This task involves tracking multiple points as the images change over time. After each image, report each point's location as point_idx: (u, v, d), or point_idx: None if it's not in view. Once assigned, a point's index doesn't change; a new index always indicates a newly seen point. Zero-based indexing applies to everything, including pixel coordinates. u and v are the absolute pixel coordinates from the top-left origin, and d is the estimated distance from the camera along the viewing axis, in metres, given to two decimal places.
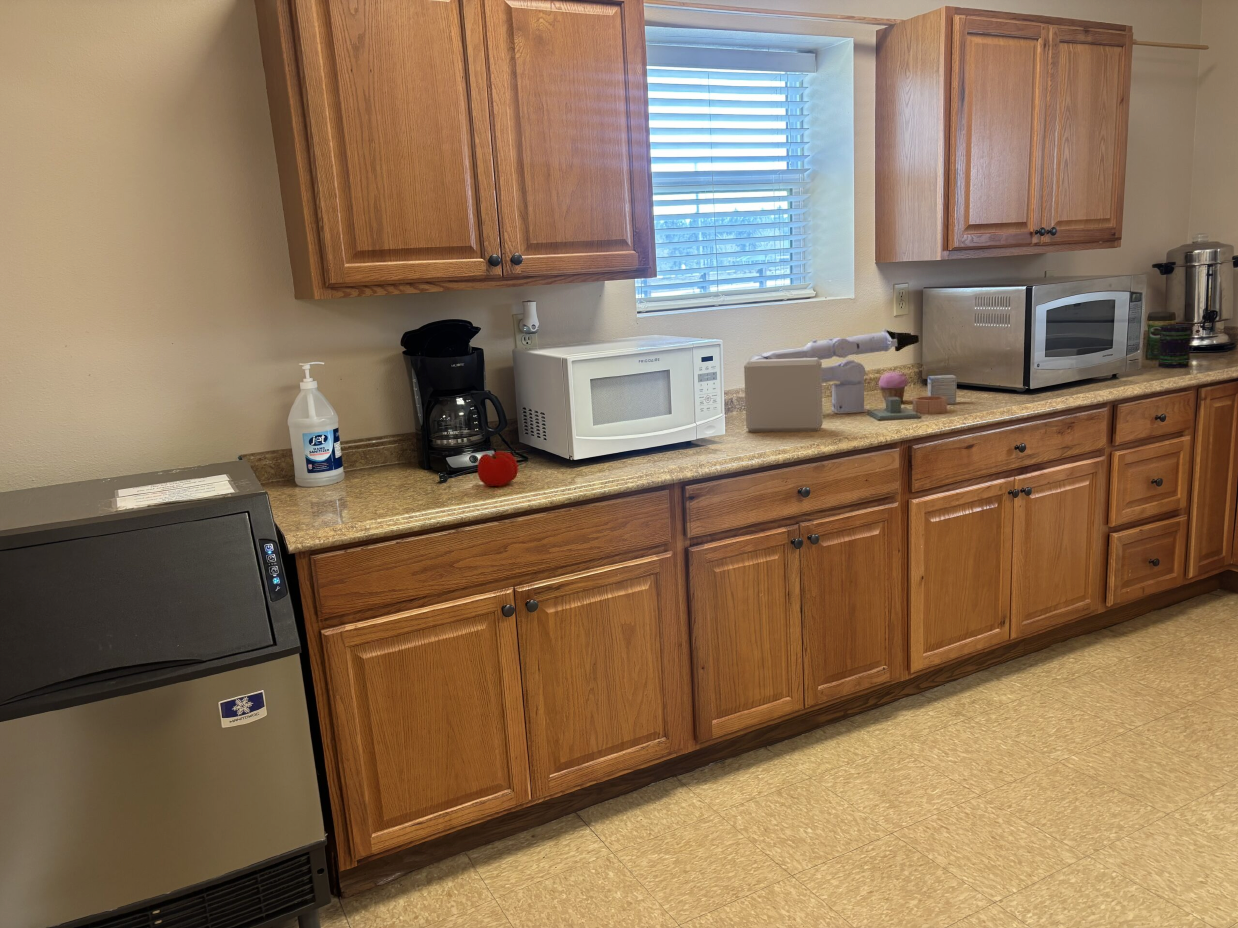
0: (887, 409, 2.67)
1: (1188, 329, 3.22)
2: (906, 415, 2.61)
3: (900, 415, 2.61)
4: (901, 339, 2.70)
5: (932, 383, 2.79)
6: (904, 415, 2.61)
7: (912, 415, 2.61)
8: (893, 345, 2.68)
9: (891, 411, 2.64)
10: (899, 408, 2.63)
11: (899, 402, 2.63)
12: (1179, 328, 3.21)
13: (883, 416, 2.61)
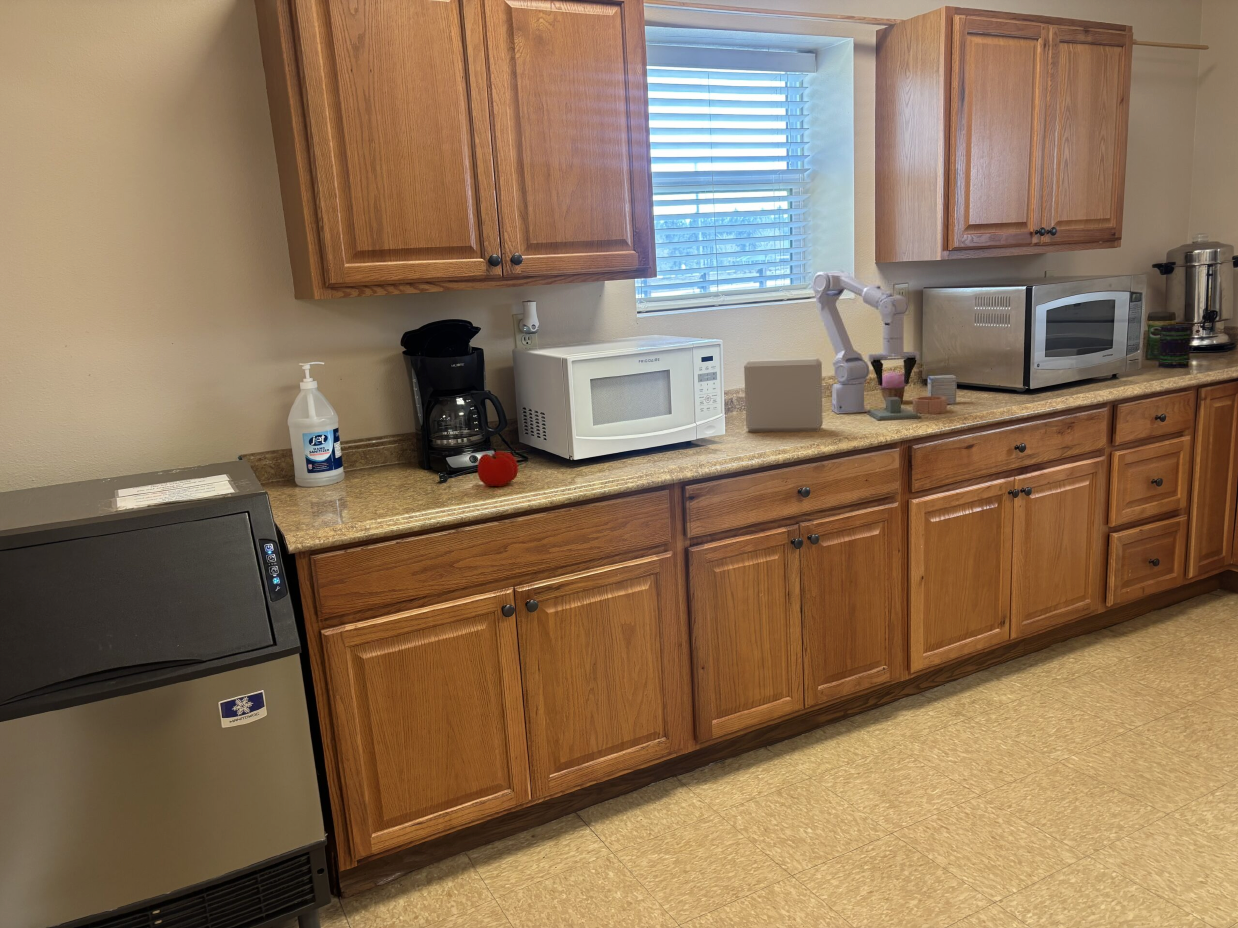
0: (887, 409, 2.67)
1: (1188, 329, 3.22)
2: (906, 415, 2.61)
3: (900, 415, 2.61)
4: None
5: (932, 383, 2.79)
6: (904, 415, 2.61)
7: (912, 415, 2.61)
8: None
9: (891, 411, 2.64)
10: (899, 408, 2.63)
11: (899, 402, 2.63)
12: (1179, 328, 3.21)
13: (883, 416, 2.61)
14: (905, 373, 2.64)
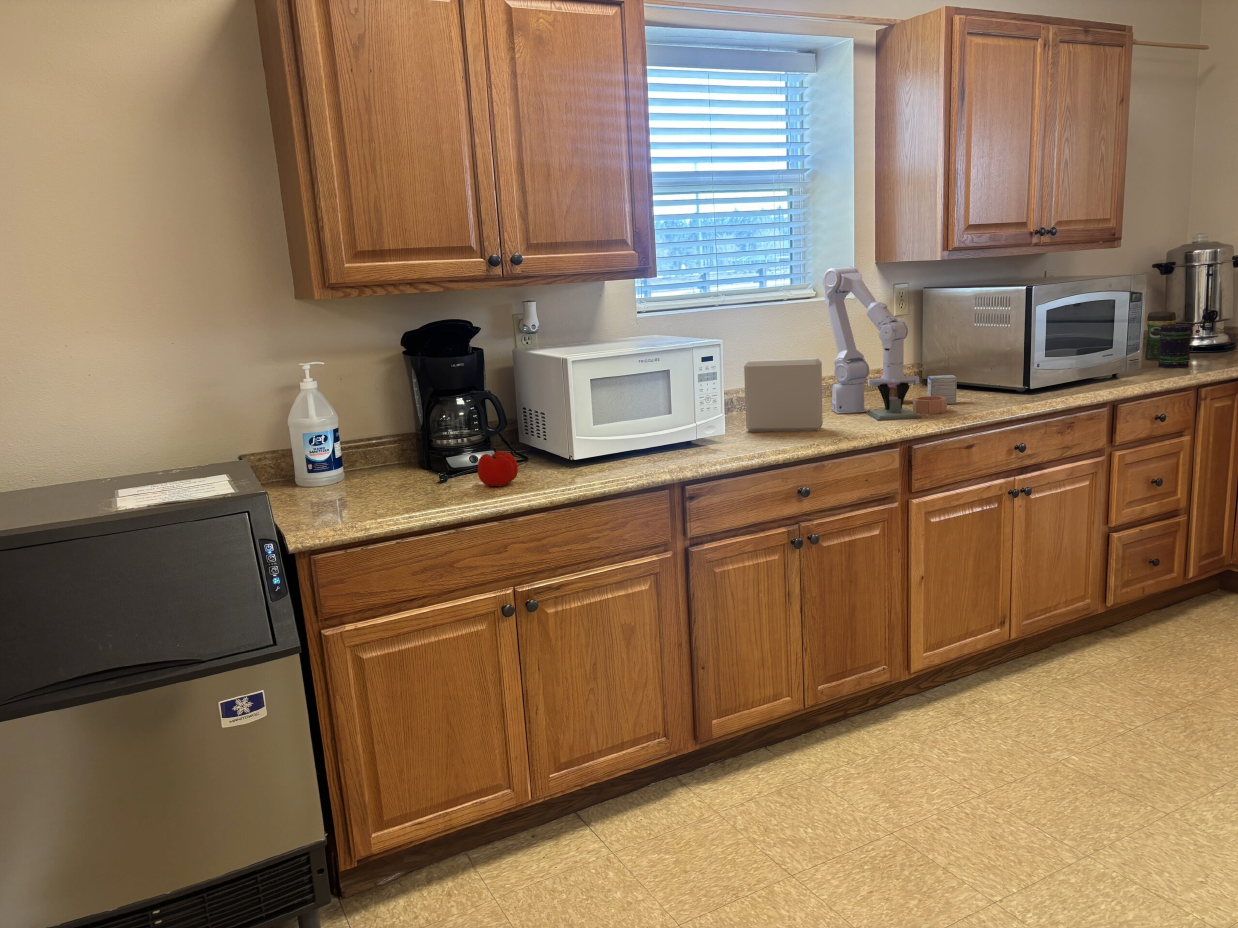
0: None
1: (1188, 329, 3.22)
2: (906, 415, 2.61)
3: (900, 415, 2.61)
4: None
5: (932, 383, 2.79)
6: (904, 415, 2.61)
7: (912, 415, 2.61)
8: (868, 382, 2.65)
9: (891, 411, 2.64)
10: (899, 408, 2.63)
11: (899, 402, 2.63)
12: (1179, 328, 3.21)
13: (883, 416, 2.61)
14: None
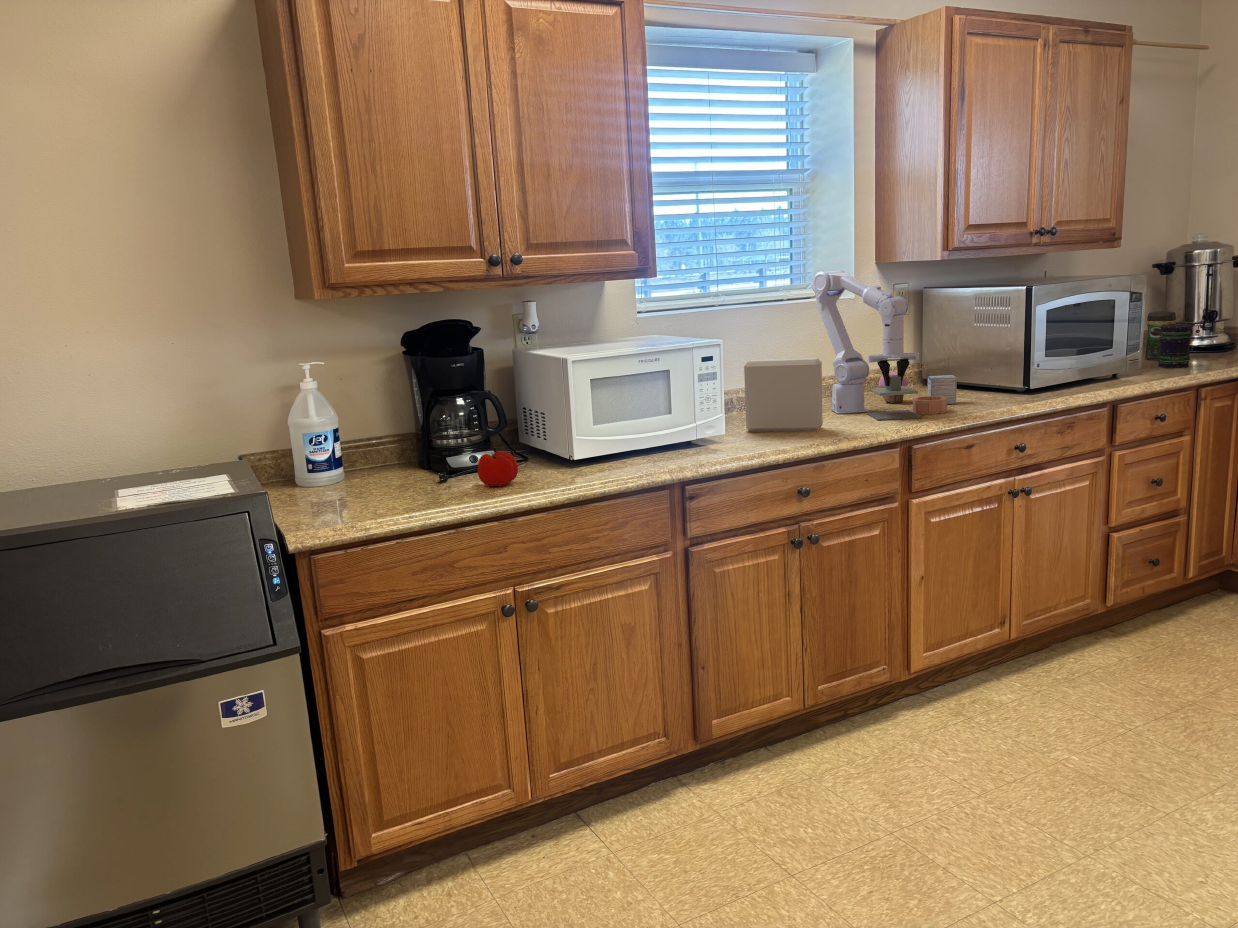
0: (887, 387, 2.65)
1: (1188, 329, 3.22)
2: (906, 392, 2.59)
3: (900, 392, 2.59)
4: None
5: (932, 383, 2.79)
6: (904, 392, 2.59)
7: (912, 392, 2.59)
8: None
9: (891, 389, 2.62)
10: (899, 386, 2.62)
11: (899, 379, 2.62)
12: (1179, 328, 3.21)
13: (883, 393, 2.59)
14: (898, 375, 2.64)
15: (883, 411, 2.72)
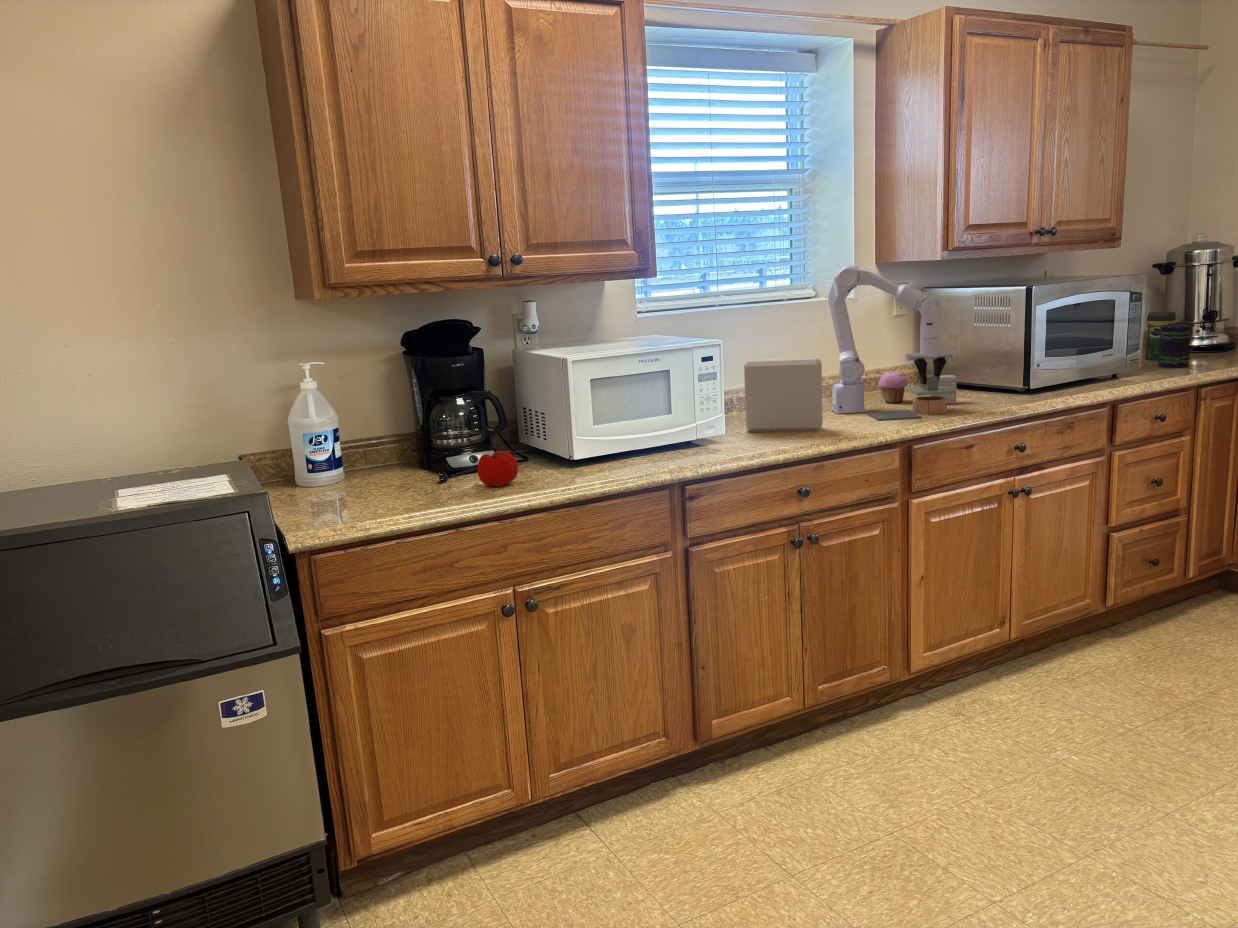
0: (924, 387, 2.69)
1: (1188, 329, 3.22)
2: (943, 392, 2.63)
3: (937, 392, 2.63)
4: None
5: None
6: (941, 392, 2.63)
7: (949, 392, 2.63)
8: (905, 356, 2.67)
9: (928, 389, 2.66)
10: (936, 386, 2.66)
11: (936, 380, 2.65)
12: (1179, 328, 3.21)
13: (921, 393, 2.63)
14: (935, 373, 2.68)
15: (883, 411, 2.72)
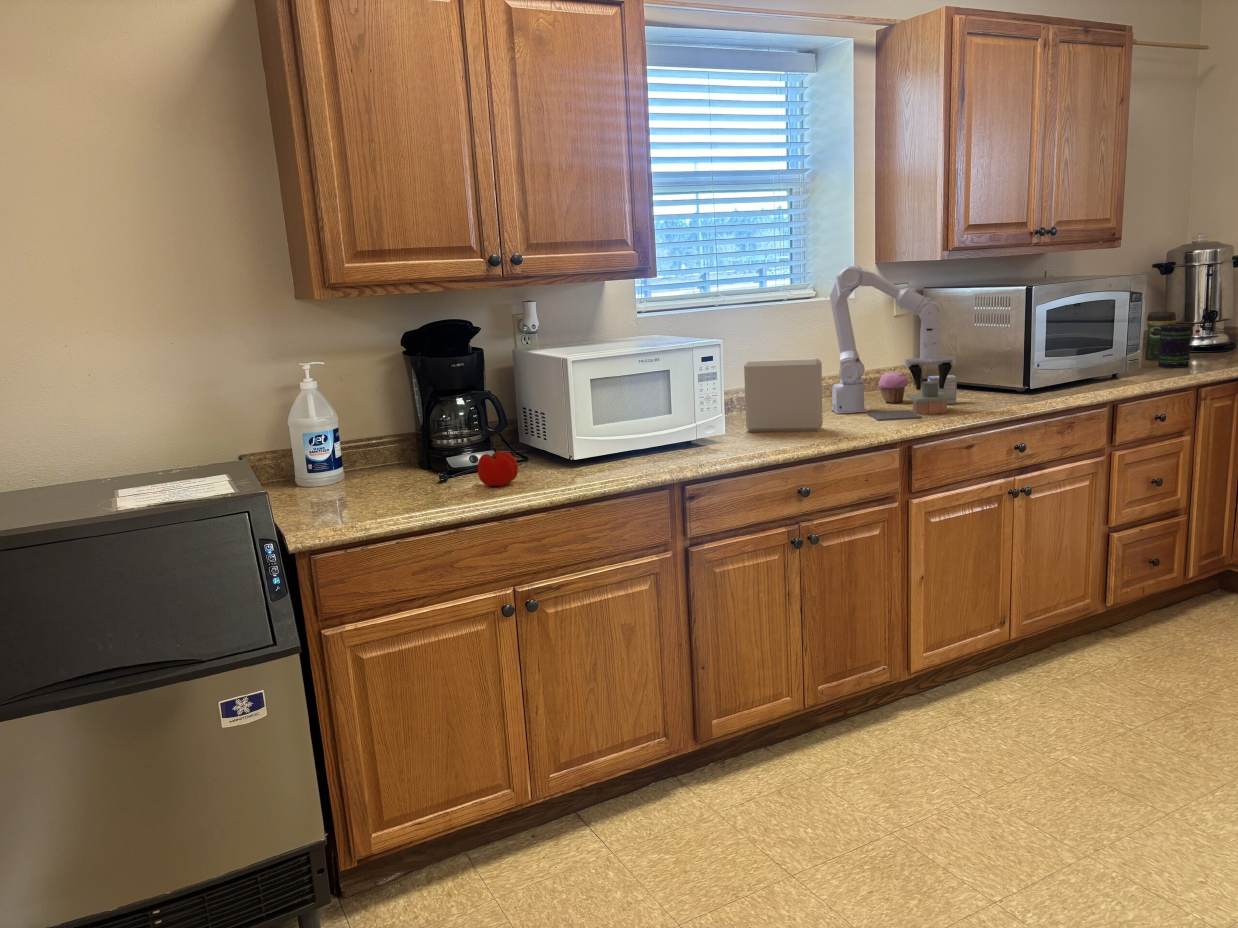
0: (924, 393, 2.69)
1: (1188, 329, 3.22)
2: (943, 399, 2.63)
3: (937, 399, 2.64)
4: None
5: None
6: (941, 399, 2.63)
7: (949, 399, 2.63)
8: None
9: (928, 395, 2.66)
10: (936, 392, 2.66)
11: (936, 386, 2.66)
12: (1179, 328, 3.21)
13: (920, 400, 2.64)
14: (940, 378, 2.68)
15: (883, 411, 2.72)
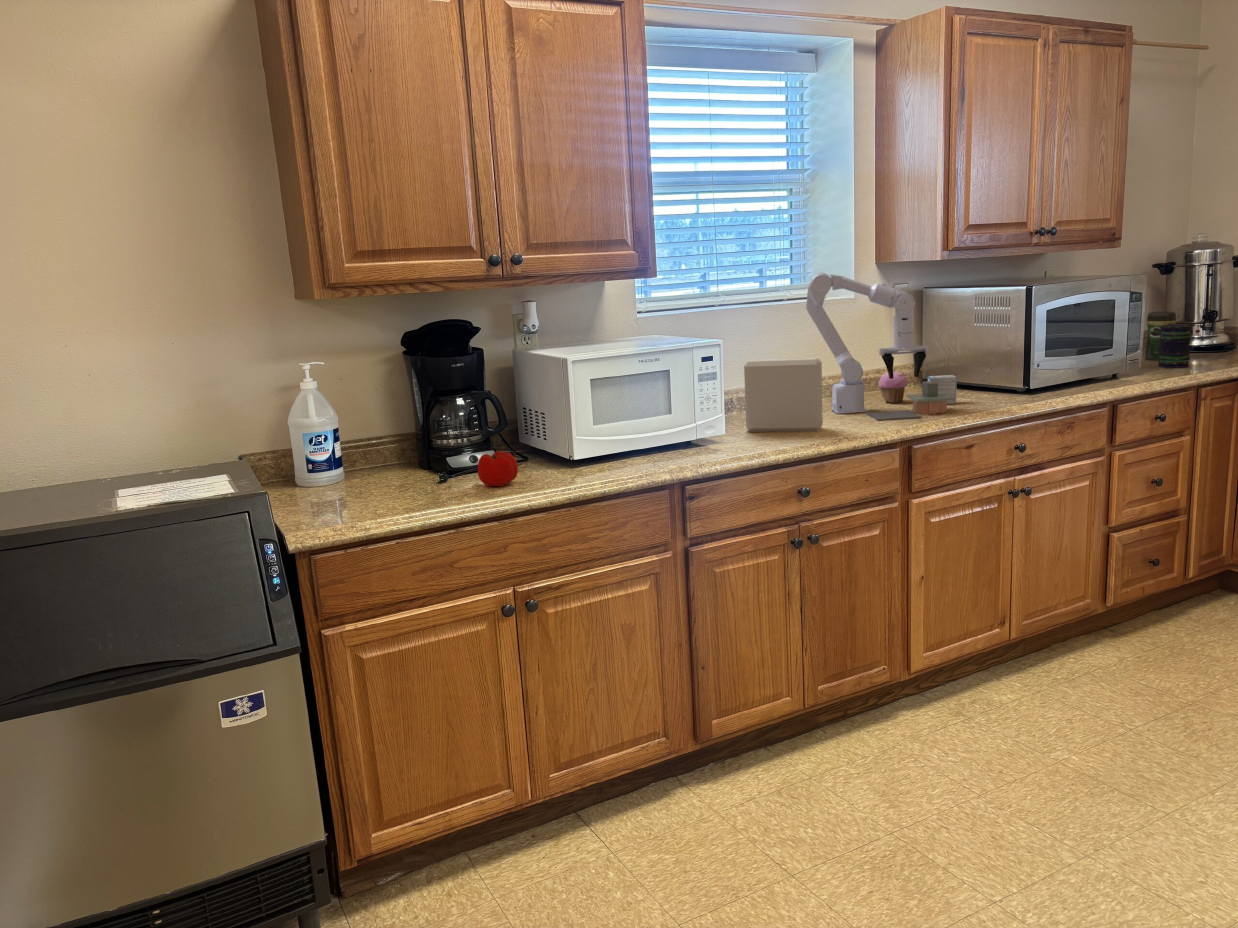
0: (924, 393, 2.69)
1: (1188, 329, 3.22)
2: (943, 399, 2.63)
3: (937, 399, 2.64)
4: None
5: None
6: (941, 399, 2.63)
7: (949, 399, 2.63)
8: (879, 351, 2.73)
9: (928, 395, 2.66)
10: (936, 392, 2.66)
11: (936, 386, 2.66)
12: (1179, 328, 3.21)
13: (920, 400, 2.64)
14: (915, 367, 2.74)
15: (883, 411, 2.72)
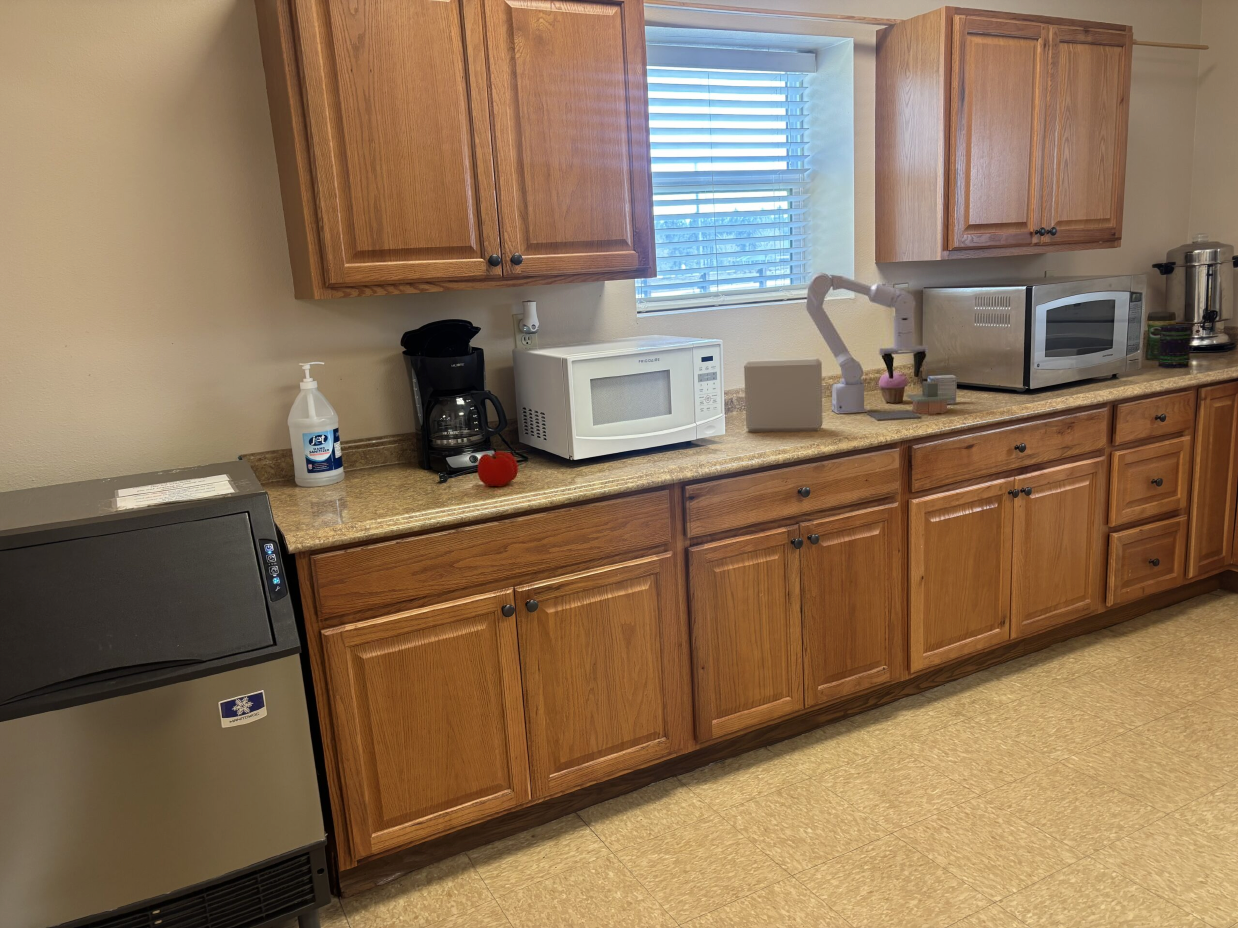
0: (924, 393, 2.69)
1: (1188, 329, 3.22)
2: (943, 399, 2.63)
3: (937, 399, 2.64)
4: None
5: None
6: (941, 399, 2.63)
7: (949, 399, 2.63)
8: (879, 351, 2.73)
9: (928, 395, 2.66)
10: (936, 392, 2.66)
11: (936, 386, 2.66)
12: (1179, 328, 3.21)
13: (920, 400, 2.64)
14: (915, 367, 2.74)
15: (883, 411, 2.72)
